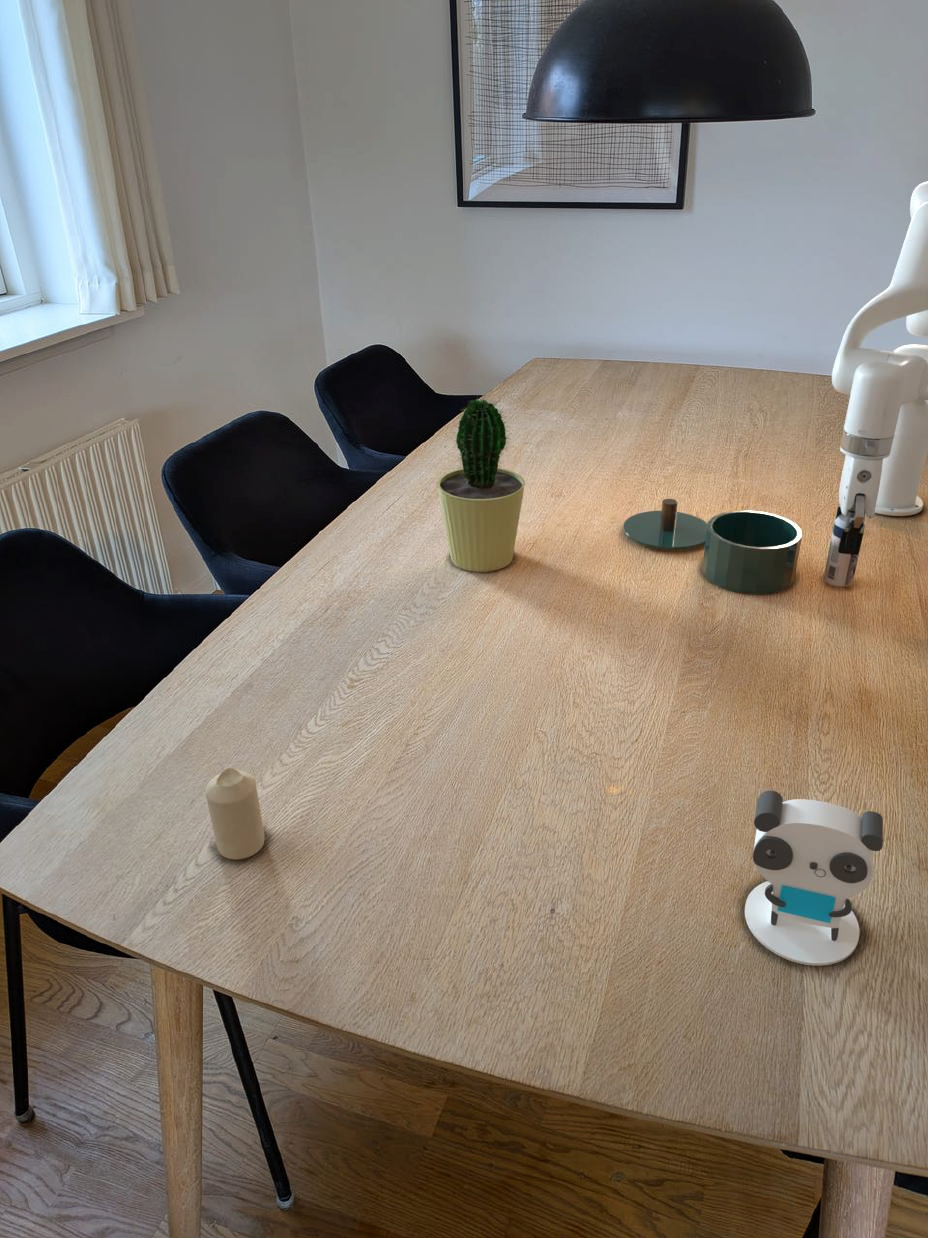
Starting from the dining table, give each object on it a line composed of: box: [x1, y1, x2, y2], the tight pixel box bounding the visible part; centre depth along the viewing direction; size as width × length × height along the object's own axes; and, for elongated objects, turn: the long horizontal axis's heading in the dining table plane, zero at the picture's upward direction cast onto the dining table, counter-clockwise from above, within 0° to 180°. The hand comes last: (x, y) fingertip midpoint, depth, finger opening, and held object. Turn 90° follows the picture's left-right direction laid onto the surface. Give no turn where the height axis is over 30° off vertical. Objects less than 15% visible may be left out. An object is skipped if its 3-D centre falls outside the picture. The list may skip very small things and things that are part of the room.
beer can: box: [823, 514, 866, 588], centre depth 159 cm, size 5×5×12 cm
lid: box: [622, 498, 708, 551], centre depth 178 cm, size 17×17×7 cm
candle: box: [205, 767, 265, 861], centre depth 107 cm, size 6×6×10 cm
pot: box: [701, 510, 803, 595], centre depth 163 cm, size 16×16×8 cm
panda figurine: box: [744, 790, 884, 967], centre depth 94 cm, size 12×11×15 cm
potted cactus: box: [436, 394, 526, 573], centre depth 164 cm, size 15×15×30 cm
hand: (845, 541), depth 157 cm, fingers open, 9 cm apart
